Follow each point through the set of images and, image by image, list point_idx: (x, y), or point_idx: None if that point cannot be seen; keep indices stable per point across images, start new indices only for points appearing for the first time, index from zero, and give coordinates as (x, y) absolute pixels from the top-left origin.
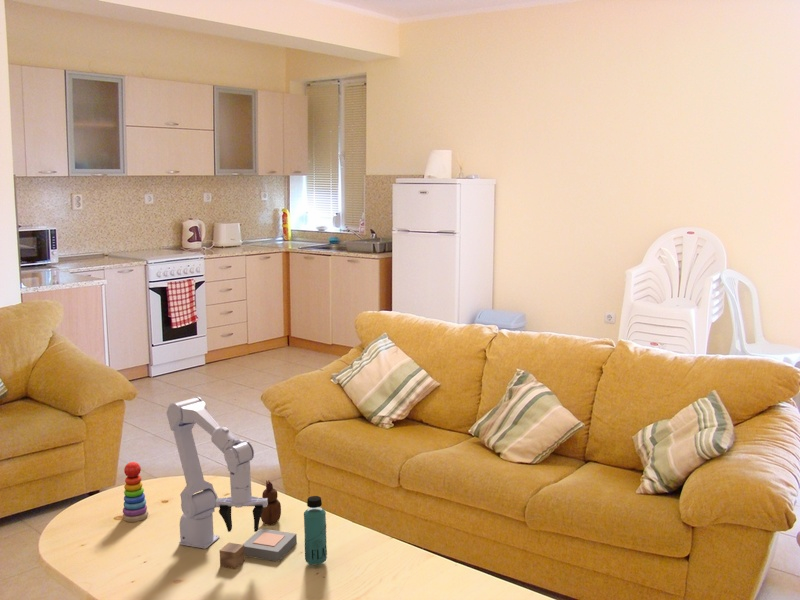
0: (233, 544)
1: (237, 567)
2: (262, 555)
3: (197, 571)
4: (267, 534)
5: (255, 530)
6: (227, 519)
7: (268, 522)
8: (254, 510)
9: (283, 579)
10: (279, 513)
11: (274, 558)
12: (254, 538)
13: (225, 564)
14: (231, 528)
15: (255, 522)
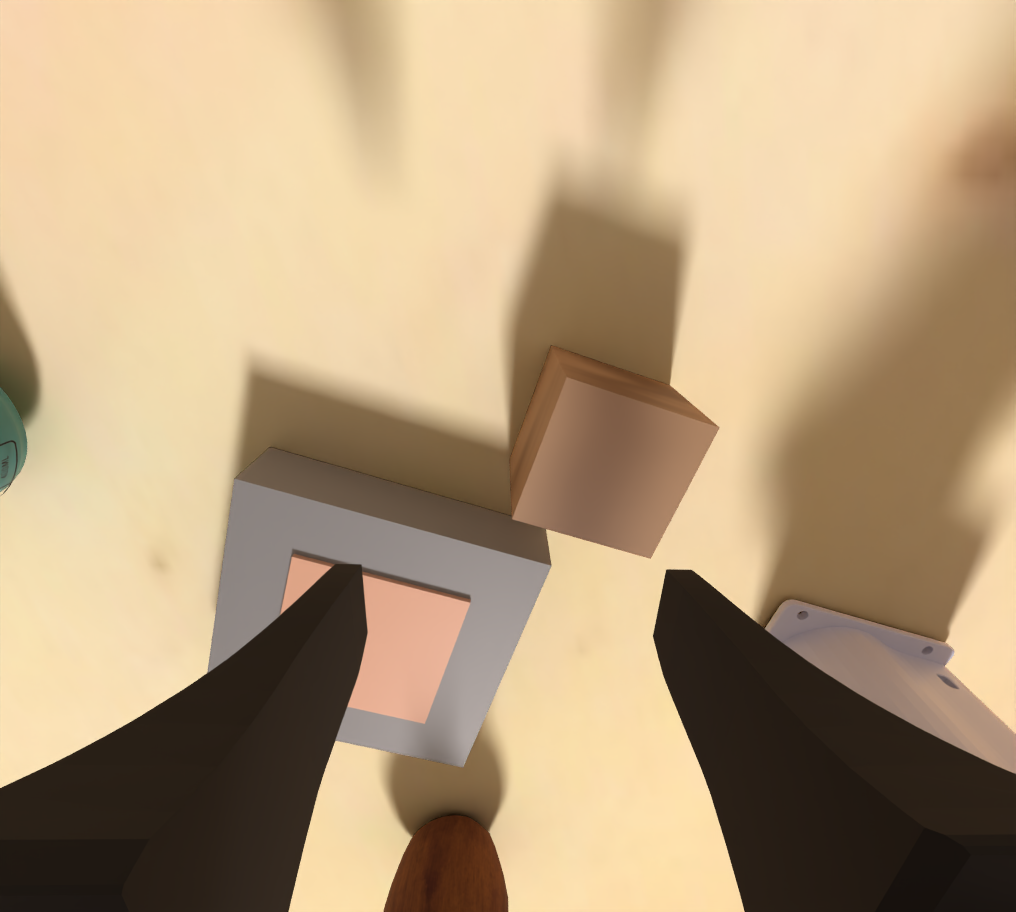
0: (605, 527)
1: (542, 370)
2: (385, 493)
3: (831, 314)
4: (394, 700)
5: (341, 571)
6: (780, 686)
7: (451, 830)
8: (54, 897)
9: (125, 170)
10: (389, 896)
11: (291, 462)
12: (474, 657)
13: (634, 377)
14: (659, 628)
15: (280, 641)
